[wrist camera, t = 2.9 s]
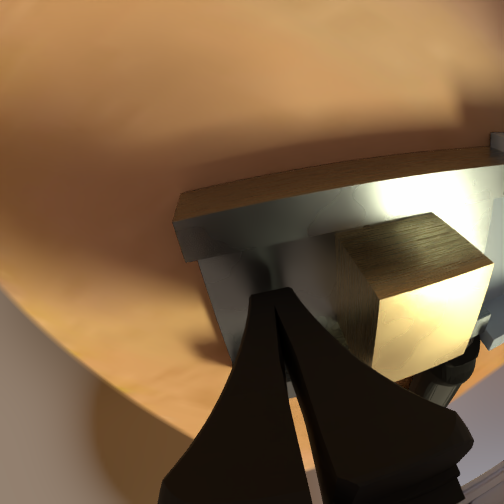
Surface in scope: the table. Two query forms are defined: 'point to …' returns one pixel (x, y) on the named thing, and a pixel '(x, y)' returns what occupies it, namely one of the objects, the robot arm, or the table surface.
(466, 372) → the electric trimmer
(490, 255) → the tray
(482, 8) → the table surface
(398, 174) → the slot bed
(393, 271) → the yellow cube
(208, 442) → the robot arm
